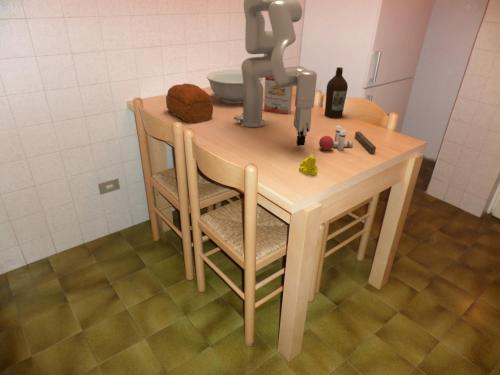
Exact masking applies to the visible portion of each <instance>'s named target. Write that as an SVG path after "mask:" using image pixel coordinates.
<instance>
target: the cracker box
mask: <svg viewBox="0 0 500 375" xmlns="http://www.w3.org/2000/svg"><path fill="white" fill-rule="evenodd" d="M293 87H294V86H292V87H285V88H281V87H279V86H277V84H276V83H275V81H274V78H273V76H271V77H265V80H264V97H263V100H264V101H263V102H264V103H263V104H264V105H263V111H264V112H270V113H278V114H282V115H289V113H291V110H292V100H293V98H292V97H293Z"/></svg>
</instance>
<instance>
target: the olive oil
mask: <svg viewBox="0 0 500 375" xmlns="http://www.w3.org/2000/svg"><path fill="white" fill-rule="evenodd" d="M343 72H344V67H341V66H340V67H339V66H338V67H336V70H335V75H334V76H333V77H332V78H331V79H330V80H329V81H328V83H327V85H326V90H325V93H326V94H325V104H324V106H325V107H324V117H325V118H329V119H341V118H342V117H343V114H344V109H345V103H346V102H345V101H346V98H347V93H348V88H349V86H348V82H347V80H346V79H345V78H344V76H343Z"/></svg>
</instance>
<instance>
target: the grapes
mask: <svg viewBox="0 0 500 375" xmlns="http://www.w3.org/2000/svg"><path fill="white" fill-rule="evenodd" d="M316 162H317V160H316V158H315V155H313V153H311V154H310V156H309V157H307V158H305V159H303V160H302V161H301V162H300V163H299V167H298V172H299V173H301V174H302V175H305V176H307V175H311V176H312V177H315V176H317V175H318V171H319V170H318V169H319V167H318V166H317V165H316V164H317V163H316Z"/></svg>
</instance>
